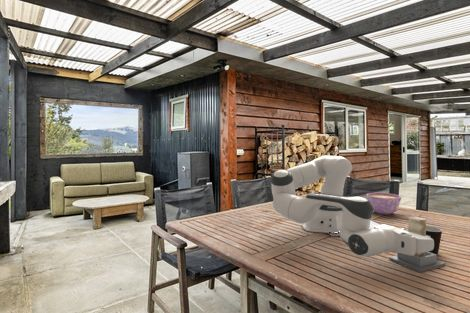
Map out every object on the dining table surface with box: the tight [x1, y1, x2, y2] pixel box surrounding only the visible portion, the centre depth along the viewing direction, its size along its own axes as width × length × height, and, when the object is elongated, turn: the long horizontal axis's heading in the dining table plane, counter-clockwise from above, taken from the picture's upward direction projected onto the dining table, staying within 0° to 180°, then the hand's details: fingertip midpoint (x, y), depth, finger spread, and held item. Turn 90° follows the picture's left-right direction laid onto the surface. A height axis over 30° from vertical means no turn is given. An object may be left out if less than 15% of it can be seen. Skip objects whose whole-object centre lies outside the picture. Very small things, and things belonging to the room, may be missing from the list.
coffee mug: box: [426, 225, 443, 256], centre depth 118 cm, size 12×9×10 cm
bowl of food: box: [366, 192, 402, 216], centre depth 183 cm, size 20×20×12 cm
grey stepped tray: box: [388, 252, 446, 273], centre depth 107 cm, size 14×12×4 cm
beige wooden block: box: [407, 216, 427, 257], centre depth 107 cm, size 4×4×16 cm
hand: (415, 233), depth 106 cm, fingers open, 8 cm apart
